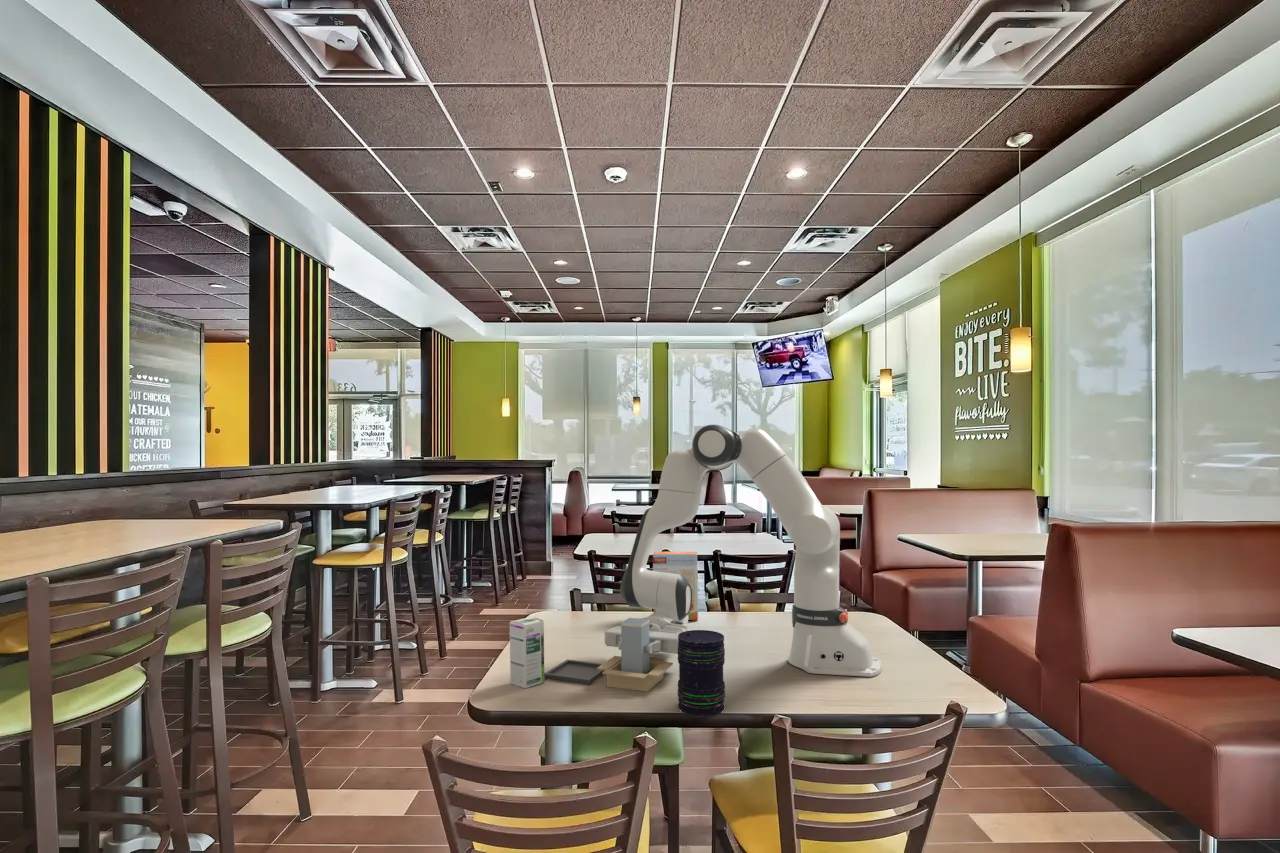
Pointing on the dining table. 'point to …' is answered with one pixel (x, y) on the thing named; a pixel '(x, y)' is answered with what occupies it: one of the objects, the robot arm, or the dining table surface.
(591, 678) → the tray
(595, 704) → the dining table surface
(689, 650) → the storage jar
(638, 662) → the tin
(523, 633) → the syrup box
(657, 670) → the carton
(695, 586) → the cracker box
